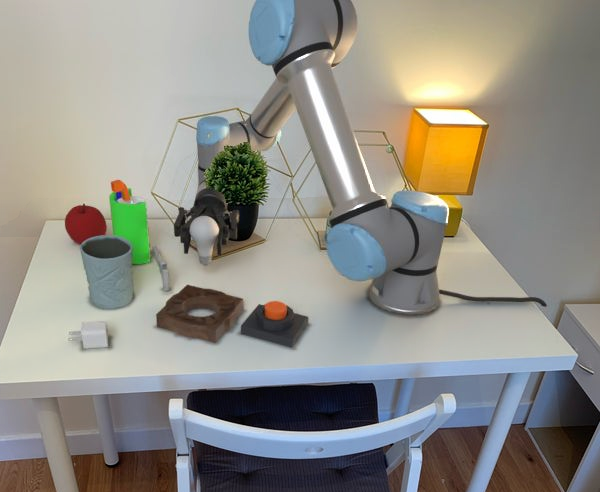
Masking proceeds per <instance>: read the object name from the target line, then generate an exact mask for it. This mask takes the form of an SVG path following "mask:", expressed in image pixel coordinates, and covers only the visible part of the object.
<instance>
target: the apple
mask: <svg viewBox="0 0 600 492" xmlns="http://www.w3.org/2000/svg"><path fill="white" fill-rule="evenodd" d="M64 229H65V232H66V233H67V235H68V236H69V238H70V239H71V240H72V241H73V242H74V243H76V244H78V245H81V244H82V243H83V242H84V241H85V240H87V239H89V238H92V237H95V236H101V235H107V229H108V225H107V221H106V219H105V216H104V215H103V213H102V212H101V210H99V209H98V208H97V207H95V206H91V205H86V204H85V203H83V204H82V205H81V204H79V205H76V206H73V207H72V208H71V209H70V210H69V211H68V212H67V214H66V215H65V218H64Z"/></svg>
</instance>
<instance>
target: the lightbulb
mask: <svg viewBox="0 0 600 492" xmlns="http://www.w3.org/2000/svg"><path fill="white" fill-rule="evenodd" d="M218 234H219V228H218V225H217V223H216V222H215V221H214V220H213V219H212V218H210V217H208V216H200V217H197V218H196V219H194V220H193V222H192V223H191V225H190V235H191V240H192V241H193V243H194V244H195V246H196V250H197V255H198V260H199V263H200V264H201V265H203V266H209V265H210V264H211V263H212V255H213V250H214V246H215V244H216V243H217V242H216V241H217V240H218Z"/></svg>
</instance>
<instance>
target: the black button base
mask: <svg viewBox="0 0 600 492" xmlns="http://www.w3.org/2000/svg"><path fill="white" fill-rule="evenodd" d="M266 304H267V303H264V304H260V303H258V305H257V306H256V307H255V308H254V309H253V310H252V312H251V313H250V314H249V315H248V316H247V318H246V319H245V320H244V322H243V323H242V324H241V325H240V334H241V335H243V336H247V337H249V338H255V339H258V340H261V341H266V342H269V343H273V344H277V345H280V346H284V347H287V348H293V347H294V346H295V345H296V343H297V341H298V340H299V338H300V337H301V336H302V334H303V333H304V331H305V330H306V329H307V327H308V325H309V316H307V315H303V314H299V313H295V312H294V309H293V308H292V307H290V306H289V305H287V304H285V305H286V306H287V315H286V317H285V318H283V319H280V320H273V319H269V318H267V317H266V316H265V314H264V312H265V305H266Z"/></svg>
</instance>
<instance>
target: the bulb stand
mask: <svg viewBox="0 0 600 492" xmlns="http://www.w3.org/2000/svg"><path fill="white" fill-rule="evenodd" d="M244 303H245V301H244V298H242V297H239V296H234V295H230V294H227V293H225V292H224V291H220V290H216V289H213V288H203V287H199V286H196V285H192V284H191V285H190V284H186V285H185V286H184V287H183V288H182V289H181V290H180V291H179V292H177V293H174V294H173V295H172V296H171V297H170V298H168V299H167V300H166V302H165V305H164V306H163V307H162V308H161V309H160V310H159V311H158V312H157V313H155V318H156V327H157V328H159V329H163V330H166V331H170V332H174V333H175V334H177V335H179V336H182V337H185V338H189V339H199V340H202V341H207V342H210V343H213V344H217V343H218V342H219V340H221V338H222V337H223V336H224V334H226V333H228V332H230V331H231V329H233V328H234V326H236V322H237V321H236V320H237V319H238V318H239V317H240V316H241V314H242V313H243V312H244ZM194 310H195V311H196V310H208V311H212V312H214V313H212V314H209V315H205V316H204V315H203V316H199V315H196V316H195V315H191V314H189V312H191V311H194Z"/></svg>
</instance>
